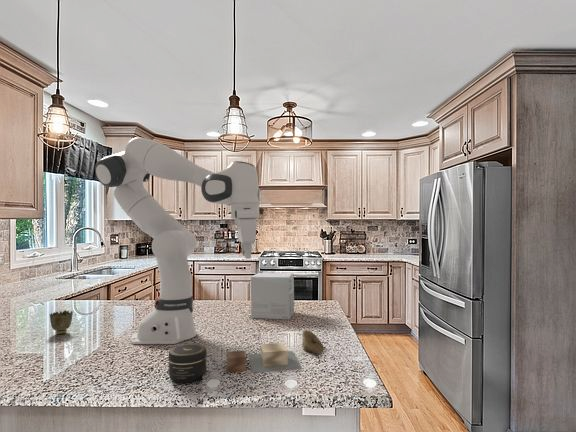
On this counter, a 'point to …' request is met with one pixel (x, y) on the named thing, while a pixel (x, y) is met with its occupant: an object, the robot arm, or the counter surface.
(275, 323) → the counter surface
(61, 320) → the cup
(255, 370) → the build plate
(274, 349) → the maple base
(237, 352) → the walnut cube
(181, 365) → the jar
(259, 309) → the supplement box
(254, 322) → the counter surface
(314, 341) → the fossil
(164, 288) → the robot arm
